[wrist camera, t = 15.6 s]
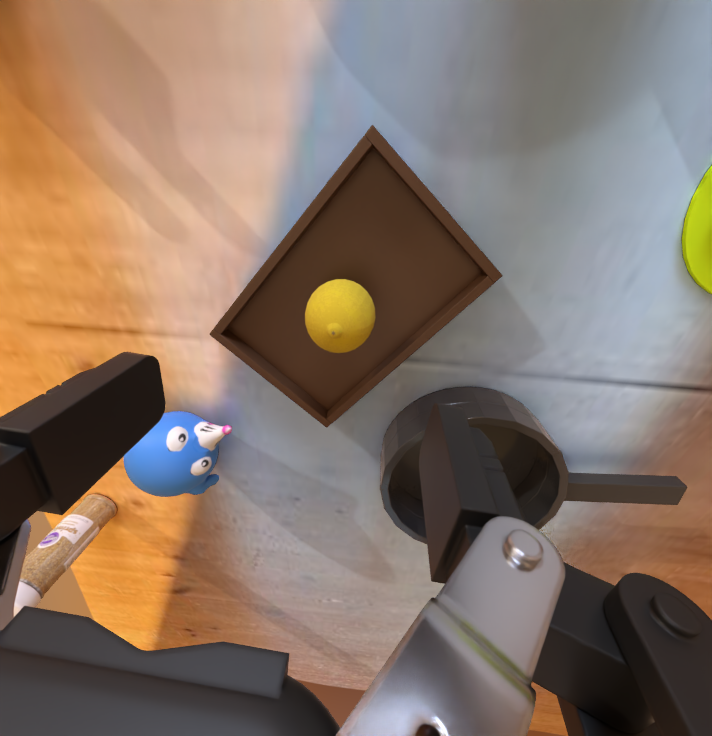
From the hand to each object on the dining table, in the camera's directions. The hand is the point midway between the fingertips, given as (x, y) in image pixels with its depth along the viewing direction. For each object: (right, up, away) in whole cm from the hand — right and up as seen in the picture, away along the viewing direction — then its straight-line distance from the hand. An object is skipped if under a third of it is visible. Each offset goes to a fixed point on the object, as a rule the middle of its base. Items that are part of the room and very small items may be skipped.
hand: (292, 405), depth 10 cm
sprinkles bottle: (-33, -18, +36) cm, 52 cm away
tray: (+1, +7, +21) cm, 22 cm away
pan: (+14, -9, +28) cm, 32 cm away
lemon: (+1, +7, +20) cm, 22 cm away
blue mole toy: (-15, -5, +29) cm, 33 cm away
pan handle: (+27, -10, +23) cm, 37 cm away
